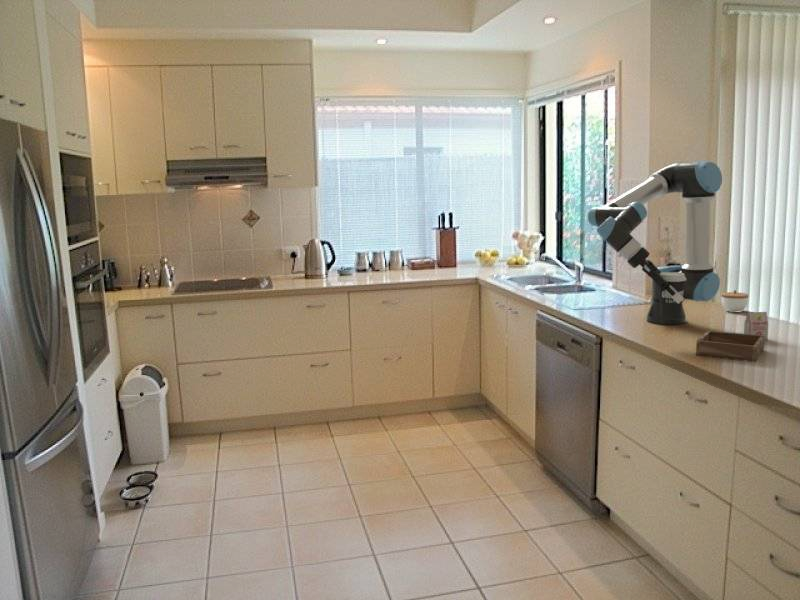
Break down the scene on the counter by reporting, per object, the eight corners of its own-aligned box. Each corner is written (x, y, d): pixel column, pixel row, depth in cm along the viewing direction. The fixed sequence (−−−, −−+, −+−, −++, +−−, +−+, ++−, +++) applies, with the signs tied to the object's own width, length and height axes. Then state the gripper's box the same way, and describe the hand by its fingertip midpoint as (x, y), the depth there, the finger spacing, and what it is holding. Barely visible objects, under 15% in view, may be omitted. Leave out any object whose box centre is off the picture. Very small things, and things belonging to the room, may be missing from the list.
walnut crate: (707, 344, 246) (708, 330, 245) (763, 350, 236) (764, 335, 235) (695, 355, 232) (696, 340, 231) (755, 361, 221) (756, 346, 221)
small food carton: (743, 338, 254) (745, 311, 253) (762, 337, 254) (763, 310, 253) (748, 340, 251) (750, 313, 249) (767, 339, 251) (769, 312, 249)
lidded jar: (721, 313, 301) (722, 291, 300) (719, 308, 311) (720, 288, 310) (748, 314, 297) (750, 292, 296) (746, 309, 307) (747, 288, 306)
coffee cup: (651, 316, 244) (652, 274, 241) (662, 312, 251) (663, 271, 248) (678, 319, 238) (680, 276, 235) (689, 314, 244) (690, 272, 242)
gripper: (627, 257, 256) (671, 300, 254) (624, 264, 236) (673, 311, 233) (642, 242, 254) (687, 286, 251) (641, 249, 233) (690, 296, 230)
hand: (680, 298), depth 242 cm, fingers closed on coffee cup, 9 cm apart
